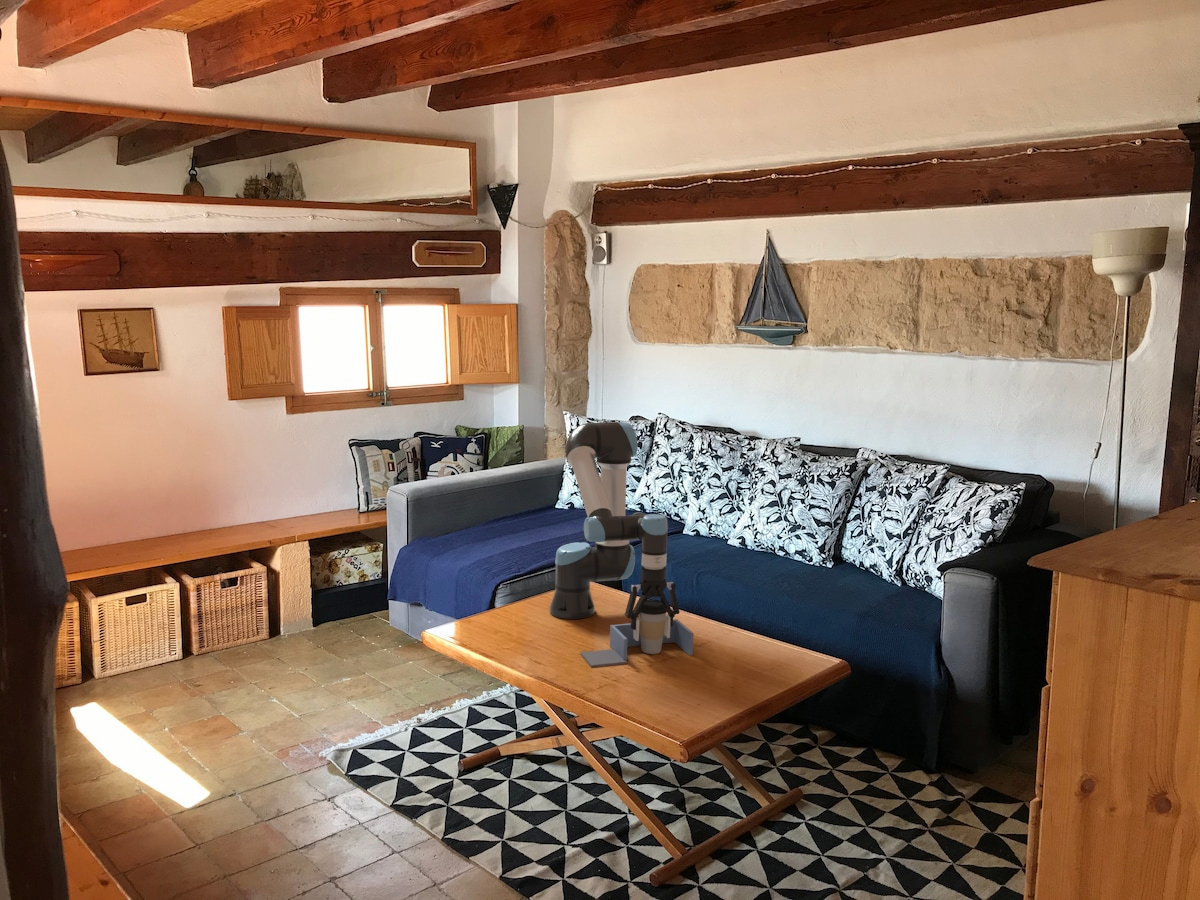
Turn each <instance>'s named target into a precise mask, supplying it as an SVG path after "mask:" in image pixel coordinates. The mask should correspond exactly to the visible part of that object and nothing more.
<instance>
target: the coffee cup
mask: <svg viewBox="0 0 1200 900" xmlns="http://www.w3.org/2000/svg"><path fill="white" fill-rule="evenodd" d="M667 612H668V607H666V604H664V603H663V602H662V601H661V599H654V598H650V599H649V598H648V600H647V601H646V602H645V604H644V605H643V606H642V609H640V613H639V615H638V619H639V627H640V636H641V645H640V646H641V647H640V648H641V651H642V652H643V653H645V654H648V655H657V654H660V653H661V651H662V647H663V643H662V641H663V636H664V630H665V622H666V615H667Z"/></svg>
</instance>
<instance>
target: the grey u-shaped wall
mask: <svg viewBox="0 0 1200 900" xmlns="http://www.w3.org/2000/svg"><path fill="white" fill-rule="evenodd" d="M609 628H610V629H609V648H610V649H614V650H615V651H616V652H617V653H618V655H619V656H620V657H621V658H622V659H623V660H626V661H627V662H628V647H637V646H641V636H640V627H639V641H636V640H635V639H634V638H633V631H634V630H633V629H632V628H631V622H629V623H620V624H610V625H609ZM669 643H675V644H676V645H677V646H678V647H680V648H681V650H683V651H684V652H685V653H686V654H687V655H688V656H693V655H694V632H693V631H692V630H690V629H689V628H688V627H687V626H686V625H685V624H684V623H682V622H681V621H680V620H679V619H678V618H677V619H673V626H670V638H667V637H666V636H665V635H664V636H663V641H662V644H669Z"/></svg>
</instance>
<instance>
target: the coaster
mask: <svg viewBox="0 0 1200 900" xmlns="http://www.w3.org/2000/svg"><path fill="white" fill-rule="evenodd" d="M579 654H580V656H581V657H582V658H583V659H584V661H585V662H586V663H587V665H588V666H589V667H590V668H596V667H598V668H599V667H607V666H617V665H628V660H627V661H626V660H623V659H622V658H621V657H620V656H619V655H618V653H617V652H616V651H615V650H614V649H611V648H610V649H599V650H590V651H582V652H581V651H580V653H579Z"/></svg>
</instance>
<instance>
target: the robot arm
mask: <svg viewBox="0 0 1200 900" xmlns="http://www.w3.org/2000/svg"><path fill="white" fill-rule="evenodd" d="M638 447H639V446H638V438H637V434H636V431H635V428H634V427H633V425H632V424H630V422H629V423H628V422H623V421H622V422H621V421H620V422H619V421H610V422H609V421H608V422H604V421H603V422H585V423H582V424H580V425H579V426H576V427H575V428H574V429H573V430H572V432H571V433H570V435H568V438H567V440H566V443H565V449H564V451H565V458H566V460H567V461H566V462H567V463H568V465H569V466H571V468H572V469H573V473H574V477H575V480H576V483H577V487H578V490H579V494H580V496H581V499H582V503H583V505H584V509H585V513H586V515H587V517H586V518H585V519H584V522H583V535H584V538H585V539H586V541H587V542H577V541H576V542H570V543H567V544H563V545H561V546H560V547H558V548H557V549H556V554H555V561H554V564H555V590H554V594H553V596H552V599H551V602H550V605H549V613H550V614H551V615H552V616H554V617H555V618H558V619H559V618H560V619H565V620H581V619H587V618H590V617H591V616H593V615H595V607H596V606H595V602H594V600H593V597H592V594H591V589H590V587H591V582H592V583H593V582H605V581H607V582H608V581H609V582H610V581H620V580H626V579H629V578H630V577H631V575H632V574H633V572H634V569H635V565H636V564H635V563H636V555H635V552H636V551H635V548H634V546H633V545H631V544H630V541H635V540H636V541H637V540H639V541H641V558H640V559H641V561H640V564H641V567H640V582H639V584H631V585H630V594H629V598H628V600H627V601H628V602H627V605H626V608H625V612H624V615H625V617H626V618H628V619H630V623H631V628H632V629H633V630H634V631H633V638H634V639H635V640H636V641H639V613H640V609H642V606H643V605H644V604H645V602H646V601H647V600H648V599H649V598H650V599H651V598H653V597H654V598H655V597H656V598H659V600H661V601H662V602H663V603H664V604H666V607H668V612H666V622H665V630H664V635H665V636H666V637H667V638H670V626H673V620H674V618H675V616H676V615H679V614H680V608H679V603H678V598H677V593H676V587H677V586H676V583H674V582H673V581H669V582H667V567H666V566H667V555H668V554H667V551H668V550H667V549H668V548H667V547H668V546H667V545H668V530H669V525H668V518H667V516H665V515H664V514H658V513H649V514H647V513H644V512H641V511H636V512H634V513H632V514H630V515H626V508H627V506H626V505H627V504H626V502H627V501H626V500H627V468H628V466H630V465H631V463H632V458H634V457H636V456H637V454H638V451H639V450H638V449H639V448H638ZM597 465H598V466H599V467H600V472H599V469H598V466H597ZM588 542H590V543H594V544H595V546H593V547H592V546H591V544H589V543H588ZM666 589H668V594H669V598H670V603H671V606H672V608H671V606H670V604H669V602H668V600H667V598H666V595H665V592H664V591H665V590H666ZM640 590H641V593H640V595H639V599H638V601H637V602H636V600H637V597H638V593H639V591H640Z"/></svg>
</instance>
